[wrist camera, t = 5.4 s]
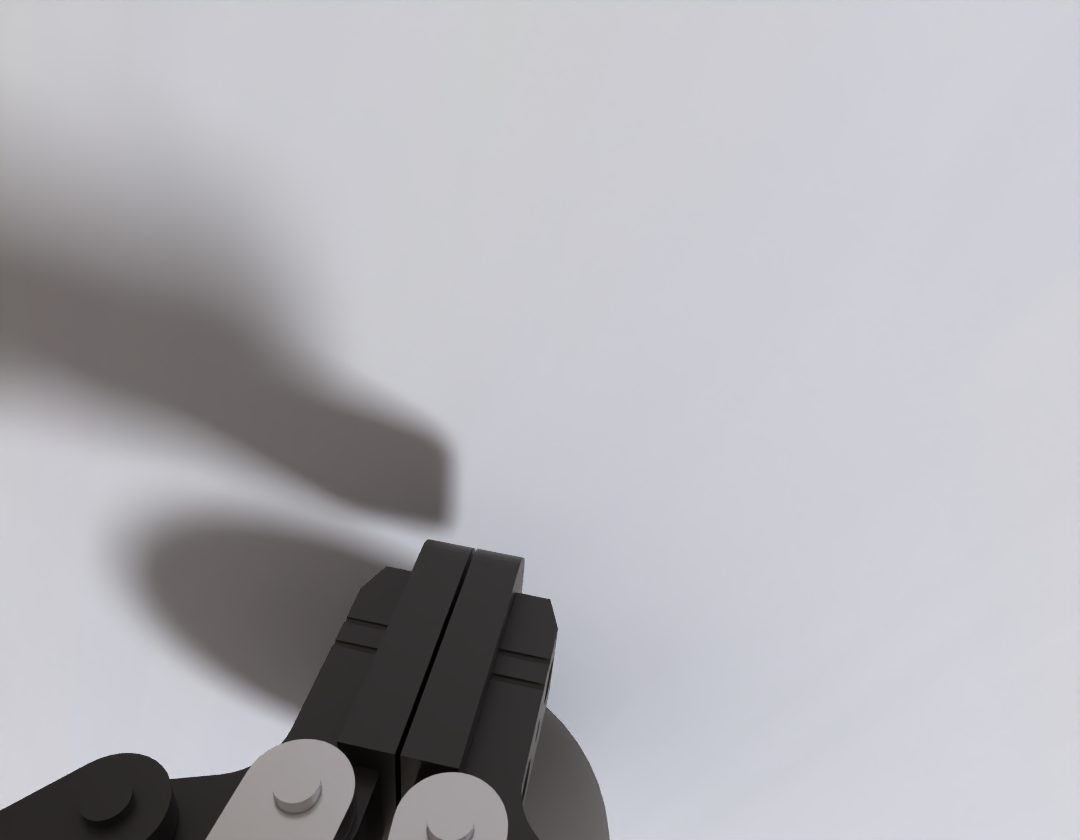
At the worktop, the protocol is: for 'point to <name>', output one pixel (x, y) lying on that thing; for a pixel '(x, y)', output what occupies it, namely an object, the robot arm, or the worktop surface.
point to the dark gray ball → (563, 788)
